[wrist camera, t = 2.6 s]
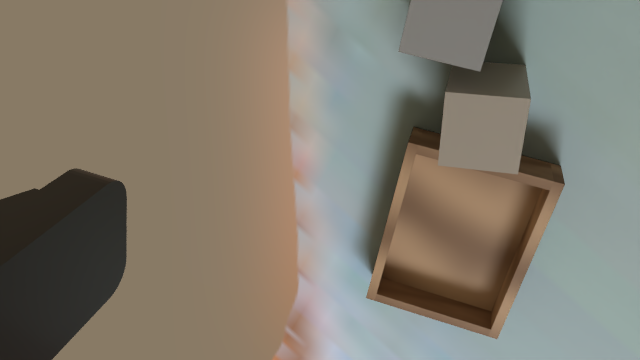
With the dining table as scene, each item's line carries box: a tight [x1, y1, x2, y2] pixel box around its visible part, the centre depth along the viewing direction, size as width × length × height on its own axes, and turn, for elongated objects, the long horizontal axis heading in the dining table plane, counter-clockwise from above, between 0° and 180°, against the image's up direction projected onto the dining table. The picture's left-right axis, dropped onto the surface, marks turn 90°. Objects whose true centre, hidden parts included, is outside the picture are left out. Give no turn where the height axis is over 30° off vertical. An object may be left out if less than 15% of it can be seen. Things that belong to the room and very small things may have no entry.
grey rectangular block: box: [399, 0, 503, 72], centre depth 29 cm, size 4×4×6 cm
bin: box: [366, 127, 565, 339], centre depth 37 cm, size 12×9×2 cm
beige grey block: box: [438, 62, 531, 174], centre depth 31 cm, size 4×4×6 cm
